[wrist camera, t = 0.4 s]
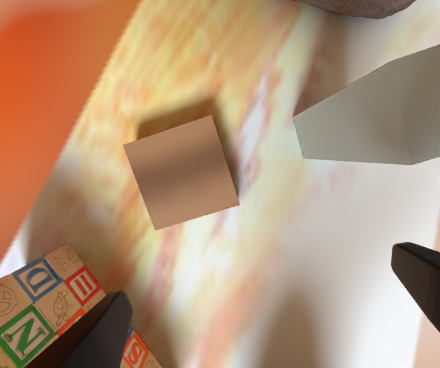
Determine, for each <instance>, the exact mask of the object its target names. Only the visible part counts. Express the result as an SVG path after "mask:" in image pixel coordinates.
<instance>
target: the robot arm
mask: <svg viewBox="0 0 440 368" xmlns="http://www.w3.org/2000/svg"><path fill="white" fill-rule="evenodd" d="M391 266H392V269H393V271H394V273H395V274H396V276H397V277H398V278H399V280H400V281H401V283H402V284H403V285H404V287H405V288H406V289H407V291H408V292H409V293H410V295H411V296H412V297H413V299H414V300H415V302H416V303H417V304H418V306H419V307H420V308H421V310H422V311H423V312H424V314H425V315H426V316H427V318H428V319H429V320H430V321H431V323H432V324H433V325H434V326H435V327H436V329H437V330H438V331H439V332H440V252H438V251H435V250H432V249H429V248H426V247H423V246H420V245H417V244H414V243H411V242H403V243H397V244H394V246H393V248H392V259H391ZM132 312H133V309H132V305H131V303H130V301H129V299H128V297H127V294H126V292H125V291H124V290H116V291H111V292H110V293H108V294H107V295H106V296H105V297H104V298H103V299H102V300H100V301H99V302H98V303H97V304H96V305H95V306H94V307H92V308H91V309H90V310H89V311H88V312H87V313H86V314H84V315H83V316H82V317H81V318H80V319H79V320H78V321H76V322H75V323H74V324H73V325H72V326H71V327H70V328H68V329H67V330H66V331H65V332H64V333H63V334H61V335H60V336H59V337H58V338H57V339H56V340H55V341H53V342H52V343H51V344H50V345H49V346H48V347H47V348H45V349H44V350H43V351H42V352H41V353H40V354H39V355H37V356H36V357H35V358H34V359H33V360H32V361H31V362H29V363H28V364H27V365H26V366H25V367H24V368H120V365H121V361H122V357H123V353H124V349H125V344H126V340H127V335H128V331H129V327H130V322H131V318H132Z"/></svg>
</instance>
